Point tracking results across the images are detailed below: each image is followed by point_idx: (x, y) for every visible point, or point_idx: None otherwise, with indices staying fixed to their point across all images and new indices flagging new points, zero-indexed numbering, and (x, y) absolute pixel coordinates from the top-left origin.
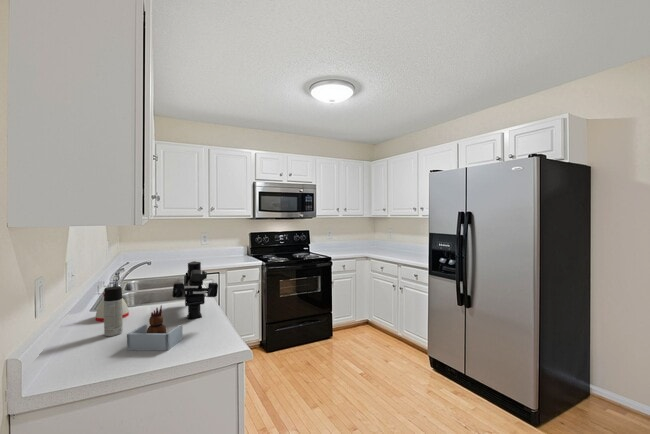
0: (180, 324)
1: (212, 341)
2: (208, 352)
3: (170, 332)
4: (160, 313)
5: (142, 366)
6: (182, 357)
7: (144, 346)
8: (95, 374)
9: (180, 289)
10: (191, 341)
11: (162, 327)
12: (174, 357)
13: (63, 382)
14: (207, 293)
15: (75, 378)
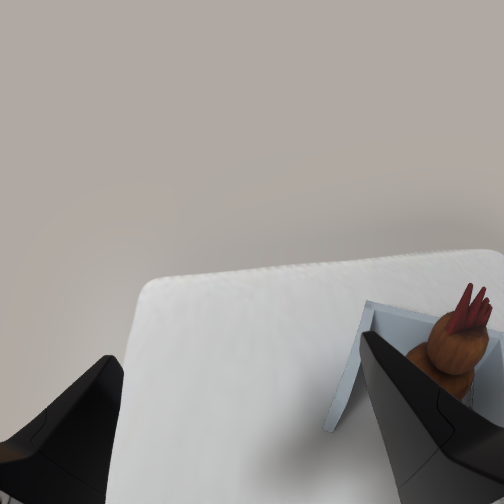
0: (344, 400)
1: (203, 360)
2: (231, 294)
3: (363, 315)
4: (455, 316)
5: (386, 277)
6: (301, 290)
7: None
8: (458, 273)
9: (489, 427)
10: (281, 390)
11: (415, 351)
12: (323, 295)
13: (484, 264)
14: (102, 376)
15: (478, 269)
